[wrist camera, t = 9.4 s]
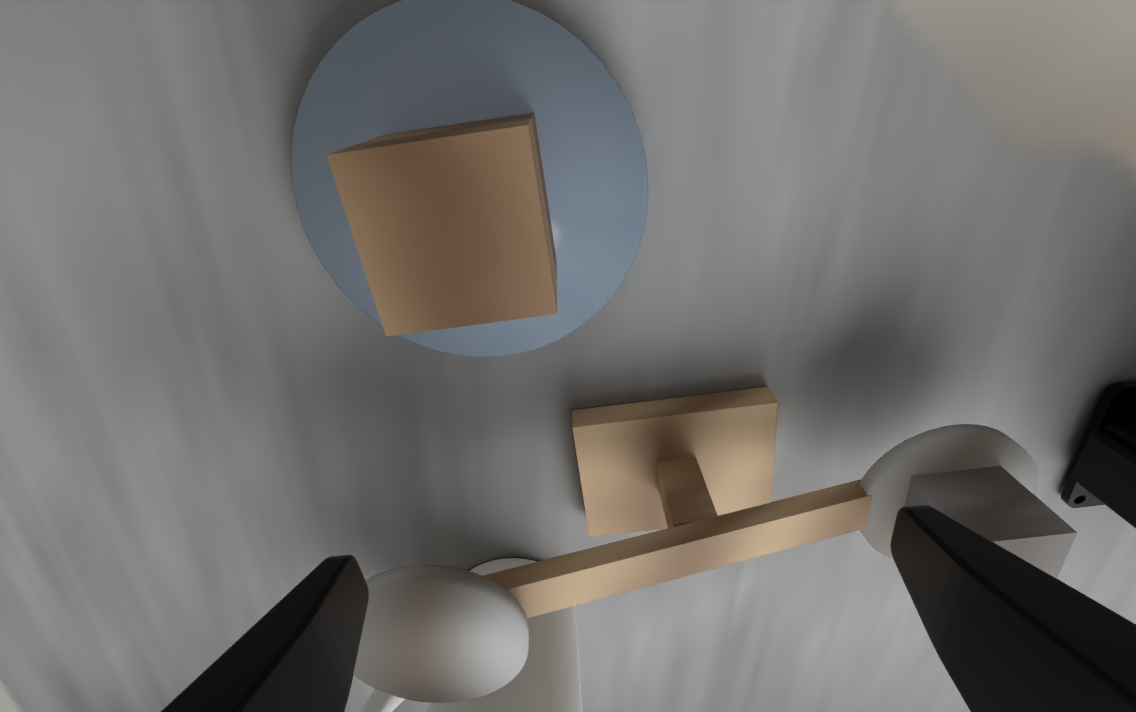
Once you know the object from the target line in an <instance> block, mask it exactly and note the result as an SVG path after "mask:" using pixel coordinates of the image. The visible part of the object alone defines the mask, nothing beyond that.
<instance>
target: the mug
mask: <svg viewBox="0 0 1136 712" xmlns="http://www.w3.org/2000/svg"><path fill="white" fill-rule="evenodd" d="M534 562H537V561H533V560H528V559H521V558H505V559H498V560H493V561H489V562H486V563H483V564H481V565H479V566H477V567H475V568H473V569H472V570H470V572H474V573H477V574H479V575H482V576H483V575H487V574H491V573H495V572H499V571H503V570H507V569H511V568H515V567H519V566H523V565H527V564H530V563H534ZM528 623H529V645H528V655H527V659H526V662H525V664H524V666H523V668H522V669H521V671H520V672H519V673H518V675H517V676H516V677H515V678H514V679H513V680H512V681H510V682H509V683H508V684H506V685H505V686H503V687H501V688H500V689H498V690H496V691H494V692H492V693H489V694H487V695H484V696H481V697H478V698H474V699H470V700H465V701H458V702H446V703H432V702H429V705H428V709H427V712H582V698H581V682H580V665H579V649H578V636H577V623H576V608H575V606H571V607H567V608H564V609H560V610H556V611H552V612H549V613H545V614H541V615H537V616H534V617H530V618H528ZM403 700H404V698H400V697H396V696H393V695H390V694H387V693H384V692H382V691H380V690H377V689H375V690H374V691H373V693H372V694H371V696H370V698H369V699H368V701H367V702H366V704H365V705H364V707H363V709H362V710H361V712H392V711H393V710H394V709H395V708H396V707H397V706H398V705H399V704H400V703H401V702H402V701H403Z"/></svg>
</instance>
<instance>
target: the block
mask: <svg viewBox="0 0 1136 712" xmlns="http://www.w3.org/2000/svg"><path fill="white" fill-rule="evenodd" d="M326 156H327V159H328V162H329V165H330V168H331V171H332V174H333V177H334V180H335V183H336V186H337V189H338V192H339V195H340V198H341V201H342V204H343V207H344V210H345V213H346V216H347V219H348V223H349V226H350V229H351V232H352V235H353V238H354V241H355V244H356V247H357V250H358V253H359V256H360V259H361V262H362V265H363V268H364V271H365V274H366V277H367V280H368V283H369V286H370V289H371V292H372V295H373V298H374V302H375V305H376V308H377V311H378V314H379V317H380V320H381V323H382V326H383V329H384V332H385V335H386V337H388V336H395V335H403V334H411V333H418V332H426V331H433V330H441V329H448V328H456V327H463V326H471V325H478V324H486V323H493V322H501V321H508V320H516V319H524V318H531V317H539V316H546V315H554V314H557V260H556V253H555V246H554V240H553V233H552V226H551V219H550V213H549V206H548V199H547V193H546V186H545V179H544V172H543V166H542V159H541V152H540V146H539V139H538V132H537V125H536V119H535V112H533V113H526V114H520V115H513V116H506V117H499V118H493V119H486V120H479V121H473V122H466V123H459V124H452V125H446V126H439V127H432V128H426V129H419V130H412V131H405V132H399V133H392V134H385V135H382V136H379V137H376V138H373V139H370V140H367V141H364V142H362V143H359V144H356V145H353V146H350V147H347V148H344V149H342V150H339V151H336V152H333V153H330V154H327V155H326Z"/></svg>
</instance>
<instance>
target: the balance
mask: <svg viewBox="0 0 1136 712" xmlns="http://www.w3.org/2000/svg"><path fill="white" fill-rule="evenodd" d="M777 411H778V402H777V400H776V399H775V397H774V396H773V395H772V393H771V392H770V390H769V389H768V387H759V388H751V389H743V390H735V391H726V392H718V393H710V394H702V395H694V396H686V397H677V398H669V399H661V400H653V401H645V402H636V403H628V404H620V405H612V406H604V407H595V408H587V409H579V410H572V428H573V434H574V441H575V447H576V453H577V460H578V466H579V473H580V479H581V486H582V492H583V499H584V505H585V512H586V518H587V525H588V531H589V537H593V536H602V535H611V534H620V533H628V532H637V531H646V530H655V529H664V528H668V529H664V530H660V531H656V532H652V533H648V534H645V535H641V536H637V537H633V538H629V539H625V540H621V541H617V542H613V543H609V544H605V545H601V546H597V547H593V548H589V549H586V550H582V551H578V552H574V553H570V554H566V555H562V556H558V557H554V558H550V559H546V560H542V561H538V562H534V563H530V564H527V565H523V566H519V567H515V568H511V569H507V570H503V571H499V572H495V573H491V574H487V575H483V576H482V575H479V574H477V573H474V572H470V571H467V570H464V569H459V568H454V567H448V566H440V565H415V566H407V567H401V568H396V569H392V570H389V571H385V572H383V573H380V574H378V575H375V576H373V577H372V578H370V579H368V580H366V583H367V586H368V591H369V600H368V606H367V611H366V616H365V620H364V625H363V630H362V635H361V640H360V645H359V650H358V655H357V660H356V665H355V670H354V675H355V676H356V677H357V678H359V679H360V680H361V681H363V682H364V683H366V684H368V685H369V686H371V687H373V688H375V689H377V690H380V691H382V692H384V693H387V694H390V695H393V696H396V697H400V698H404V699H408V700H414V701H420V702H432V703H446V702H458V701H465V700H470V699H474V698H478V697H481V696H484V695H487V694H489V693H492V692H494V691H496V690H498V689H500V688H501V687H503V686H505V685H506V684H508V683H509V682H510V681H512V680H513V679H514V678H515V677H516V676H517V675H518V673H519V672H520V671H521V669H522V668H523V666H524V664H525V662H526V659H527V655H528V645H529V623H528V618H530V617H534V616H537V615H541V614H545V613H549V612H552V611H556V610H560V609H564V608H567V607H571V606H575V605H579V604H583V603H586V602H590V601H594V600H598V599H601V598H605V597H609V596H613V595H616V594H620V593H624V592H628V591H631V590H635V589H639V588H643V587H646V586H650V585H654V584H658V583H661V582H665V581H669V580H673V579H676V578H680V577H684V576H688V575H692V574H695V573H699V572H703V571H707V570H710V569H714V568H718V567H722V566H725V565H729V564H733V563H737V562H740V561H744V560H748V559H752V558H755V557H759V556H763V555H767V554H770V553H774V552H778V551H782V550H786V549H789V548H793V547H797V546H801V545H804V544H808V543H812V542H816V541H819V540H823V539H827V538H831V537H834V536H838V535H842V534H846V533H849V532H853V531H857V530H860V531H861V532H862V534H863V535H864V537H865V538H866V540H867V541H868V542H869V544H870V545H871V546H872V547H873V548H874V549H876V550H877V551H878V552H880V553H882V554H883V555H885V556H888V557H890V558H893V556H892V553H891V547H890V543H891V538H892V533H893V529H894V524H895V520H896V516H897V512H898V510H899V509H900V508H901V507H904V506H915V505H928V506H931V507H933V508H935V509H937V510H939V511H940V512H942V513H944V514H946V515H947V516H949V517H951V518H953V519H954V520H956V521H958V522H959V523H961V524H963V525H965V526H966V527H968V528H970V529H972V530H973V531H975V532H977V533H978V534H980V535H982V536H984V537H985V538H987V539H989V540H991V541H992V542H994V543H996V544H997V545H999V546H1001V547H1003V548H1004V549H1006V550H1008V551H1010V552H1011V553H1013V554H1015V555H1016V556H1018V557H1020V558H1022V559H1023V560H1025V561H1027V562H1029V563H1030V564H1032V565H1034V566H1035V567H1037V568H1039V569H1041V570H1042V571H1044V572H1046V573H1048V574H1049V575H1051V576H1053V577H1054V578H1056V579H1057V577H1058V574H1059V572H1060V570H1061V568H1062V565H1063V563H1064V561H1065V559H1066V556H1067V554H1068V552H1069V550H1070V547H1071V545H1072V543H1073V541H1074V538H1075V536H1076V534H1077V532H1076V531H1075V530H1074V529H1073V528H1071V527H1070V526H1069V525H1068V524H1067V523H1066V522H1065V521H1063V520H1062V519H1061V518H1060V517H1059V516H1058V515H1057V514H1055V513H1054V512H1053V511H1052V510H1051V509H1050V508H1049V507H1047V506H1046V505H1045V504H1044V503H1043V502H1042V501H1041V500H1039V499H1038V498H1037V497H1036V496H1035V495H1034V494H1033V493H1034V489H1035V486H1036V478H1037V476H1036V468H1035V465H1034V462H1033V460H1032V458H1031V456H1030V455H1029V454H1028V453H1027V452H1026V450H1025V449H1023V448H1022V447H1021V446H1020V445H1018V444H1017V443H1016V442H1015V441H1013V440H1012V439H1011V438H1010V437H1008V436H1007V435H1005V434H1004V433H1002V432H1000V431H998V430H996V429H993V428H990V427H987V426H981V425H971V424H961V425H951V426H945V427H940V428H936V429H932V430H929V431H926V432H923V433H921V434H918V435H916V436H914V437H911V438H909V439H907V440H905V441H904V442H902V443H900V444H898V445H897V446H895V447H894V448H892V449H891V450H889V451H888V452H887V453H885V454H884V455H883V456H882V457H881V458H880V459H878V460H877V461H876V462H875V463H874V464H873V466H872V467H871V468H870V469H869V470H868V471H867V473H866V474H865V475H864V477H863V478H862V479H861V480H857V481H853V482H849V483H845V484H841V485H837V486H833V487H829V488H826V489H822V490H818V491H814V492H810V493H806V494H802V495H798V496H794V497H790V498H786V499H782V500H778V501H774V502H771V500H772V485H773V470H774V456H775V441H776V426H777Z"/></svg>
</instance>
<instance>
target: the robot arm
mask: <svg viewBox="0 0 1136 712" xmlns="http://www.w3.org/2000/svg"><path fill="white" fill-rule="evenodd" d="M1061 499H1062V500H1063V501H1064V502H1065V503H1066V504H1067V505H1069V506H1070V507H1072V508H1079V507H1088V506H1097V505H1106V506H1107V507H1109V508H1110V509H1111V510H1113V511H1114V512H1115V513H1116V514H1118V515H1119V516H1120V517H1122V518H1123V519H1124V520H1125V521H1127V522H1128V523H1129V524H1131V525H1132V526H1133V527H1134V528H1136V381H1128V382H1119V383H1115V384H1113V385H1111V386H1109V387H1108V388H1107V389H1106V390H1105V391H1104V392H1103V394H1102V396H1101V399H1100V401H1099V403H1098V406H1097V408H1096V411H1095V413H1094V416H1093V418H1092V421H1091V423H1090V425H1089V428H1088V430H1087V433H1086V435H1085V438H1084V440H1083V443H1082V445H1081V448H1080V450H1079V452H1078V455H1077V457H1076V460H1075V462H1074V465H1073V467H1072V470H1071V472H1070V475H1069V477H1068V479H1067V482H1066V484H1065V487H1064V489H1063V492H1062V494H1061ZM890 547H891V553H892V556H893V559H894V561H895V563H896V566H897V568H898V570H899V572H900V574H901V577H902V579H903V581H904V583H905V585H906V587H907V590H908V592H909V594H910V596H911V598H912V600H913V603H914V605H915V607H916V609H917V611H918V614H919V616H920V618H921V620H922V622H923V624H924V627H925V629H926V631H927V633H928V635H929V637H930V639H931V642H932V644H933V646H934V648H935V650H936V652H937V654H938V655H939V657H940V659H941V661H942V663H943V664H944V666H945V668H946V670H947V672H948V673H949V675H950V677H951V678H952V680H953V682H954V684H955V685H956V687H957V689H958V690H959V692H960V694H961V696H962V697H963V699H964V701H965V702H966V704H967V706H968V708H969V709H970V711H971V712H1136V624H1134V623H1132V622H1131V621H1129V620H1127V619H1125V618H1124V617H1122V616H1120V615H1118V614H1117V613H1115V612H1113V611H1112V610H1110V609H1108V608H1106V607H1105V606H1103V605H1101V604H1099V603H1098V602H1096V601H1094V600H1093V599H1091V598H1089V597H1087V596H1086V595H1084V594H1082V593H1080V592H1079V591H1077V590H1075V589H1074V588H1072V587H1070V586H1068V585H1067V584H1065V583H1063V582H1061V581H1060V580H1058V579H1056V578H1054V577H1053V576H1051V575H1049V574H1048V573H1046V572H1044V571H1042V570H1041V569H1039V568H1037V567H1035V566H1034V565H1032V564H1030V563H1029V562H1027V561H1025V560H1023V559H1022V558H1020V557H1018V556H1016V555H1015V554H1013V553H1011V552H1010V551H1008V550H1006V549H1004V548H1003V547H1001V546H999V545H997V544H996V543H994V542H992V541H991V540H989V539H987V538H985V537H984V536H982V535H980V534H978V533H977V532H975V531H973V530H972V529H970V528H968V527H966V526H965V525H963V524H961V523H959V522H958V521H956V520H954V519H953V518H951V517H949V516H947V515H946V514H944V513H942V512H940V511H939V510H937V509H935V508H933V507H931V506H928V505H915V506H904V507H901V508H900V509H899V510H898V512H897V516H896V520H895V524H894V529H893V533H892V538H891V543H890ZM368 600H369V591H368V586H367V583H366V581H365V579H364V576H363V574H362V572H361V569H360V567H359V565H358V563H357V560H356V559H355V557H353V556H352V555H341V556H331V557H328V558H327V559H325V560H324V561H323V562H322V563H320V564H319V565H318V566H317V567H316V568H315V569H314V570H313V571H312V572H311V573H310V574H309V575H308V576H306V577H305V578H304V579H303V580H302V581H301V582H300V583H299V584H298V585H297V586H296V587H295V588H294V589H292V590H291V591H290V592H289V593H288V594H287V595H286V596H285V597H284V598H283V599H282V600H281V601H280V602H278V603H277V604H276V605H275V606H274V607H273V608H272V609H271V610H270V611H269V612H268V613H267V614H266V615H264V616H263V617H262V618H261V619H260V620H259V621H258V622H257V623H256V624H255V625H254V626H253V627H252V628H250V629H249V630H248V631H247V632H246V633H245V634H244V635H243V636H242V637H241V638H240V639H239V640H238V641H236V642H235V643H234V644H233V645H232V646H231V647H230V648H229V649H228V650H227V651H226V652H225V653H224V654H222V655H221V656H220V657H219V658H218V659H217V660H216V661H215V662H214V663H213V664H212V665H211V666H209V667H208V668H207V669H206V670H205V671H204V672H203V673H202V674H201V675H200V676H199V677H198V678H197V679H195V680H194V681H193V682H192V683H191V684H190V685H189V686H188V687H187V688H186V689H185V690H184V691H183V692H181V693H180V694H179V695H178V696H177V697H176V698H175V699H174V700H173V701H172V702H171V703H170V704H169V705H167V706H166V707H165V708H164V709H163V710H162V711H161V712H344V711H345V707H346V704H347V700H348V697H349V692H350V688H351V684H352V679H353V675H354V670H355V665H356V660H357V655H358V650H359V645H360V640H361V635H362V630H363V625H364V620H365V616H366V611H367V606H368Z"/></svg>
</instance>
